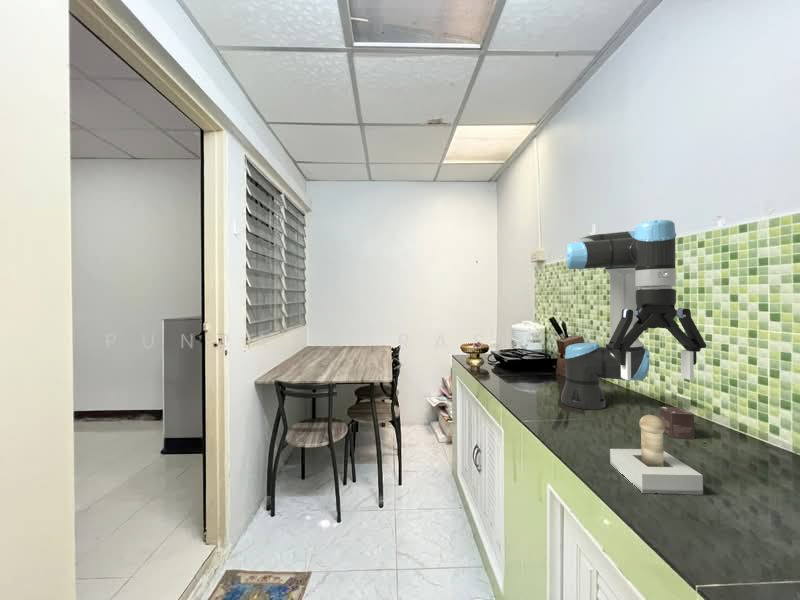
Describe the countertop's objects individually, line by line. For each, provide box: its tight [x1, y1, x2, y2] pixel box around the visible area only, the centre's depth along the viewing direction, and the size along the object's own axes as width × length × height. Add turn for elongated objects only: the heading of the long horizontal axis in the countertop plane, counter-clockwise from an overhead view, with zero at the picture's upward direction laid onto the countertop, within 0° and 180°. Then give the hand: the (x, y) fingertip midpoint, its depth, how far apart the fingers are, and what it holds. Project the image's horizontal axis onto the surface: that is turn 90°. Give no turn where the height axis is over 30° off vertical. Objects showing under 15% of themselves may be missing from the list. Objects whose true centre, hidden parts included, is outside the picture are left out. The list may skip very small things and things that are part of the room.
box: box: [659, 406, 696, 440], centre depth 100 cm, size 6×6×7 cm
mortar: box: [609, 448, 704, 495], centre depth 76 cm, size 12×12×4 cm
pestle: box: [639, 414, 665, 467], centre depth 76 cm, size 5×5×14 cm
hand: (656, 378), depth 78 cm, fingers open, 13 cm apart
